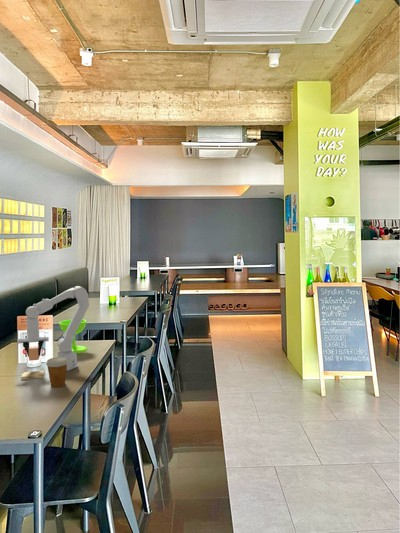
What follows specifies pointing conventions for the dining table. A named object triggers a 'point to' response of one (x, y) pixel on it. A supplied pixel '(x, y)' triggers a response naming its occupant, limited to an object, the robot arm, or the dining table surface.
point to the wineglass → (82, 325)
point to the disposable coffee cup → (57, 371)
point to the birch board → (32, 375)
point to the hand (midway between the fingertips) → (34, 356)
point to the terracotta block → (33, 353)
